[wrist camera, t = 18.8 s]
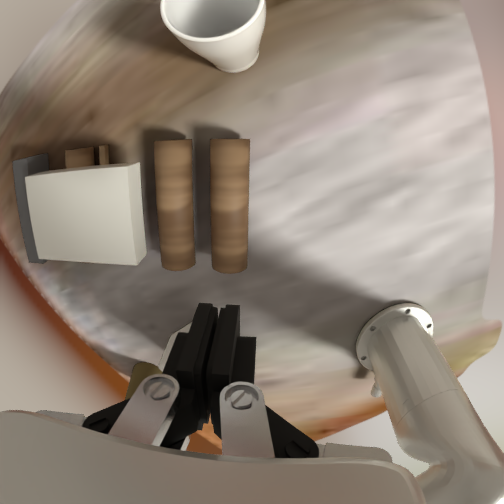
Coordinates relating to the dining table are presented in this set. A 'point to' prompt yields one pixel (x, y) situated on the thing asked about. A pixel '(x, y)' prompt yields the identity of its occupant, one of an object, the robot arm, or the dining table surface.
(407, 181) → the dining table surface
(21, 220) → the grey rectangular bar
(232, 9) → the white cup
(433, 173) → the dining table surface
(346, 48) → the dining table surface
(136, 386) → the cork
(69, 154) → the roller
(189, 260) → the track
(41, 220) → the slab
